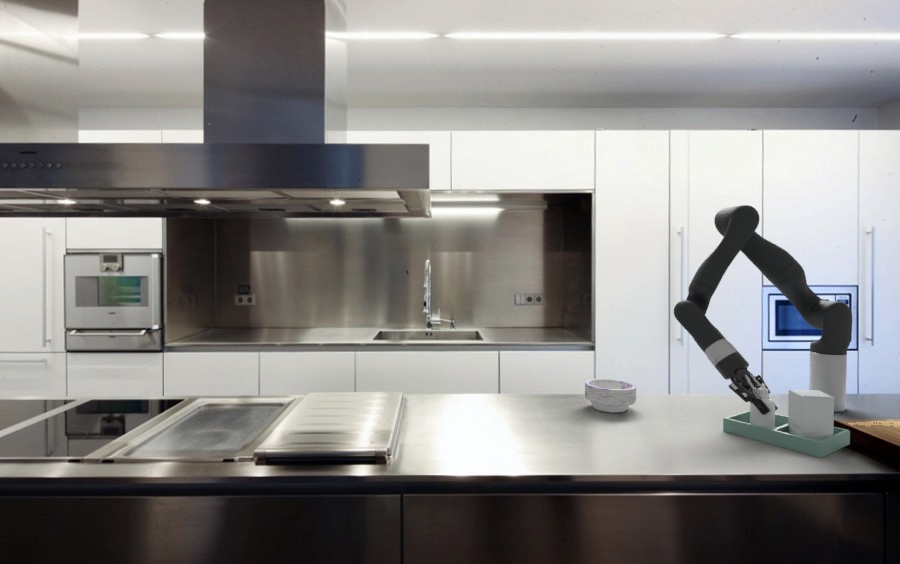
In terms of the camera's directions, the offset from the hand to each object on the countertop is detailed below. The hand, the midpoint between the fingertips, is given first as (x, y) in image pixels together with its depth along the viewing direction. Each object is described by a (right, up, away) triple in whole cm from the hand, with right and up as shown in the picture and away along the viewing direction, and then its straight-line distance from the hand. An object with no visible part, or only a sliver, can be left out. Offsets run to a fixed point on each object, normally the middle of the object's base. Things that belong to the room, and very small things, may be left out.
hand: (770, 411), depth 137 cm
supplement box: (+5, -6, -8) cm, 11 cm away
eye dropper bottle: (-1, -5, +2) cm, 6 cm away
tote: (+2, -6, -3) cm, 7 cm away
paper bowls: (-35, -5, +24) cm, 43 cm away
